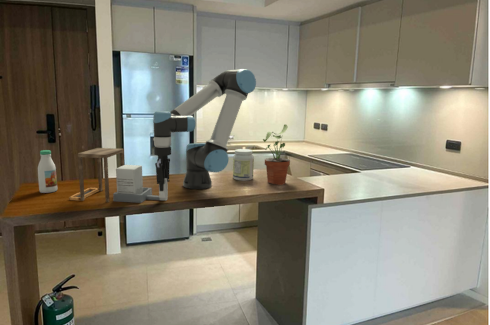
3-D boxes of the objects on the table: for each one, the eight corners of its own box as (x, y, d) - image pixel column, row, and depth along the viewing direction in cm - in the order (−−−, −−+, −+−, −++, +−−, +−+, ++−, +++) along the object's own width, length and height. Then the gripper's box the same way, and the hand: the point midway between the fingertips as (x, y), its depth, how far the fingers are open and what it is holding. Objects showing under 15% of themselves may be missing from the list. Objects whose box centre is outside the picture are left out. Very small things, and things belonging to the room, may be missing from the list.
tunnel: (125, 192, 175) (123, 148, 171) (108, 202, 158) (105, 154, 154) (100, 190, 176) (98, 147, 172) (80, 200, 159) (77, 153, 155)
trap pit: (99, 190, 176) (99, 188, 176) (79, 200, 159) (79, 198, 159) (89, 190, 176) (89, 187, 176) (69, 199, 160) (68, 197, 160)
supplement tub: (240, 175, 218) (241, 148, 215) (257, 178, 211) (258, 150, 208) (228, 178, 208) (228, 150, 205) (245, 182, 201) (246, 152, 198)
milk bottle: (39, 193, 168) (35, 152, 164) (39, 190, 175) (36, 149, 171) (57, 192, 171) (54, 151, 168) (57, 188, 178) (54, 149, 174)
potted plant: (272, 178, 212) (274, 119, 206) (293, 182, 202) (297, 121, 196) (255, 182, 201) (257, 120, 194) (277, 187, 191) (280, 122, 184)
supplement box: (125, 195, 170) (124, 164, 167) (143, 196, 169) (142, 165, 166) (116, 200, 161) (115, 168, 158) (135, 201, 160) (134, 169, 157)
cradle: (171, 195, 170) (170, 175, 168) (161, 204, 157) (161, 182, 155) (126, 193, 172) (125, 173, 171) (113, 201, 160) (112, 179, 158)
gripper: (160, 143, 167) (161, 191, 172) (147, 148, 152) (149, 201, 156) (176, 144, 166) (176, 192, 171) (164, 149, 151) (165, 202, 156)
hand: (163, 196), depth 164 cm, fingers closed on cradle, 2 cm apart
